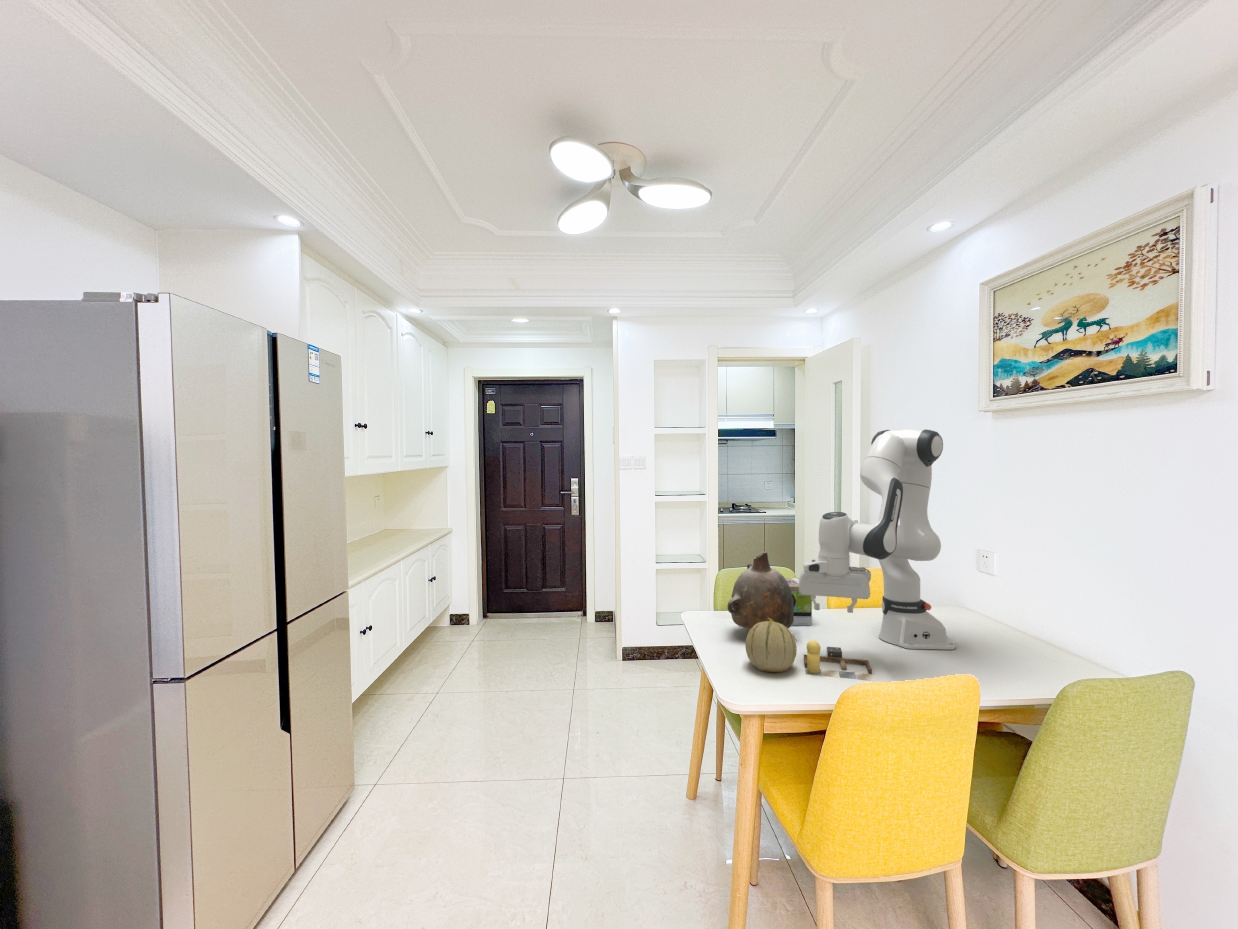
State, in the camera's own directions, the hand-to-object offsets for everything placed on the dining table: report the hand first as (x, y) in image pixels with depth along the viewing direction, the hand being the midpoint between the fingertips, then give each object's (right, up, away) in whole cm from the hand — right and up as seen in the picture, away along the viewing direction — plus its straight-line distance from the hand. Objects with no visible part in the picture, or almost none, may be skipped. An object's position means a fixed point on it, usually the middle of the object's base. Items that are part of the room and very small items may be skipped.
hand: (833, 611), depth 164 cm
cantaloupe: (-21, -16, -6) cm, 27 cm away
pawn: (-10, -15, -10) cm, 20 cm away
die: (+1, -16, 0) cm, 16 cm away
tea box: (+2, -15, +43) cm, 46 cm away
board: (-2, -16, -8) cm, 18 cm away
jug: (-15, -16, +25) cm, 33 cm away
